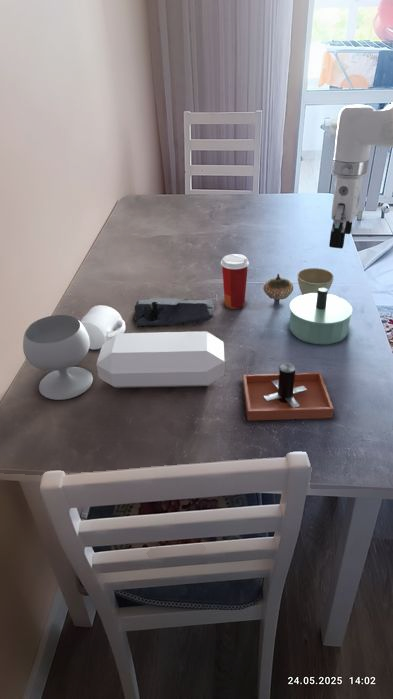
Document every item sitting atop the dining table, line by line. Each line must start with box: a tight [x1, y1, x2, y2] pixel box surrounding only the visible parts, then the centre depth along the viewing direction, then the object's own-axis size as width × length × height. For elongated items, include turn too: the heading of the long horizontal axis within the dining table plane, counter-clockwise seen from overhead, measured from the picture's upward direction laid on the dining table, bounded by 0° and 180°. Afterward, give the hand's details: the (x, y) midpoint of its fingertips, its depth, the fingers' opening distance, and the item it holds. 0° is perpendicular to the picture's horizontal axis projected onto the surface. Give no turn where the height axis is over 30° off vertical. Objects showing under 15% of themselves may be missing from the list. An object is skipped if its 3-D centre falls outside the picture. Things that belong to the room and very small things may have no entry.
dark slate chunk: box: [134, 297, 215, 328], centre depth 134 cm, size 15×22×5 cm
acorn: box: [262, 273, 294, 307], centre depth 134 cm, size 8×8×10 cm
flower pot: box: [296, 267, 335, 295], centre depth 138 cm, size 10×10×7 cm
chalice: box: [22, 314, 94, 401], centre depth 107 cm, size 14×14×15 cm
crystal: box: [95, 330, 226, 389], centre depth 109 cm, size 14×10×28 cm
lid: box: [289, 288, 354, 325], centre depth 121 cm, size 16×16×6 cm
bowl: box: [289, 312, 351, 345], centre depth 124 cm, size 15×15×6 cm
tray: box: [242, 372, 335, 421], centre depth 103 cm, size 17×12×2 cm
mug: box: [80, 304, 126, 350], centre depth 123 cm, size 12×9×8 cm
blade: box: [263, 363, 307, 408], centre depth 101 cm, size 10×10×8 cm
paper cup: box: [220, 253, 250, 310], centre depth 135 cm, size 8×8×14 cm
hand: (340, 240), depth 118 cm, fingers open, 9 cm apart
